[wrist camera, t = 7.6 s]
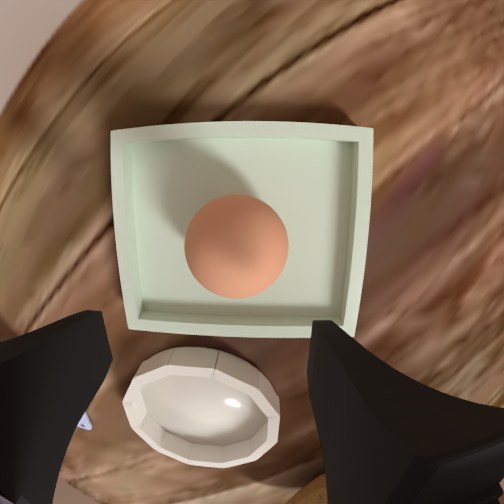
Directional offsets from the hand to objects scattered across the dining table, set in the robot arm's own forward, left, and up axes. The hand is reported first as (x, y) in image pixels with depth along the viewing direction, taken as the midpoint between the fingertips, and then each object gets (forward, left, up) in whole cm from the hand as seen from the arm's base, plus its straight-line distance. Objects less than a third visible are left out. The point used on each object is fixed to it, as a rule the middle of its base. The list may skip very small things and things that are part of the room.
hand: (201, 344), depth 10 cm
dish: (-2, -12, -9) cm, 16 cm away
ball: (+1, +2, -9) cm, 9 cm away
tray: (+1, +2, -9) cm, 9 cm away
